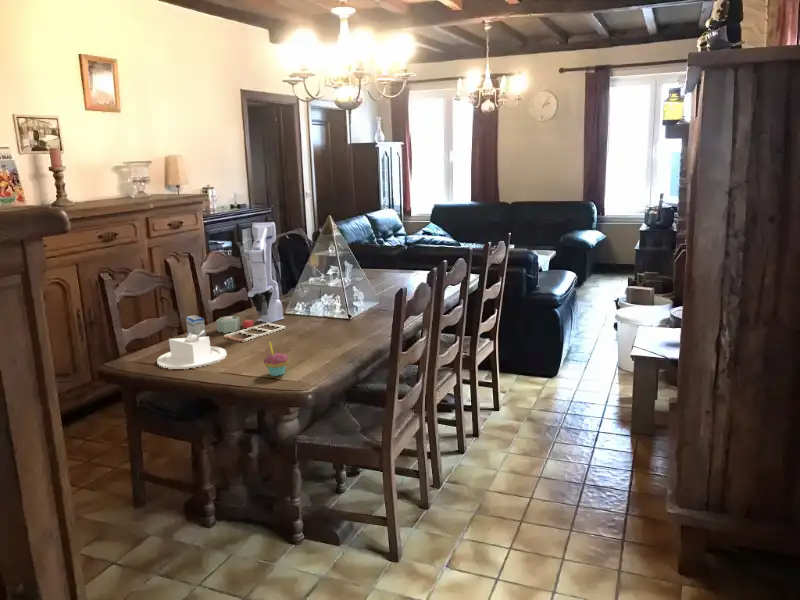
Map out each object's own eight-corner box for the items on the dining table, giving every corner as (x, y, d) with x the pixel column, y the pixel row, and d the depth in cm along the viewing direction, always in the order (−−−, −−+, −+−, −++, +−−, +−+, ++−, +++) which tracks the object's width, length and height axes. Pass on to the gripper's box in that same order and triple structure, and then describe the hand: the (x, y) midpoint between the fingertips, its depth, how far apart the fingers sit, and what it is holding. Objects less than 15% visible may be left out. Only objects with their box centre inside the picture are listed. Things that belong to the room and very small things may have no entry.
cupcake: (261, 377, 223) (258, 343, 221) (269, 369, 232) (266, 336, 229) (286, 378, 222) (283, 343, 219) (293, 369, 230) (290, 336, 228)
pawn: (264, 312, 282) (262, 292, 280) (269, 314, 279) (267, 294, 277) (256, 314, 279) (254, 294, 277) (261, 316, 277) (259, 295, 275)
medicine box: (187, 336, 277) (185, 316, 275) (197, 334, 279) (195, 314, 277) (196, 340, 271) (193, 320, 269) (206, 338, 274) (204, 317, 272)
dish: (238, 350, 256) (235, 322, 253) (202, 372, 232) (198, 341, 230) (183, 347, 263) (180, 320, 260) (143, 368, 239) (138, 338, 237)
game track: (266, 324, 290) (266, 322, 290) (286, 328, 282) (286, 326, 282) (224, 337, 273) (223, 335, 273) (243, 342, 265) (243, 339, 265)
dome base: (230, 326, 290) (228, 315, 289) (244, 329, 284) (242, 318, 283) (214, 330, 284) (212, 319, 283) (228, 334, 278) (226, 322, 277)
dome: (230, 324, 288) (229, 314, 287) (238, 326, 284) (237, 316, 283) (218, 327, 283) (217, 318, 282) (227, 329, 280) (226, 319, 279)
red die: (247, 326, 288) (246, 319, 288) (253, 326, 287) (253, 319, 287) (243, 328, 285) (242, 321, 285) (250, 328, 284) (249, 321, 284)
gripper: (262, 274, 284) (265, 305, 287) (240, 281, 271) (243, 313, 274) (276, 275, 281) (278, 306, 284) (254, 282, 268) (257, 314, 271)
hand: (262, 310), depth 279 cm, fingers closed on pawn, 4 cm apart
